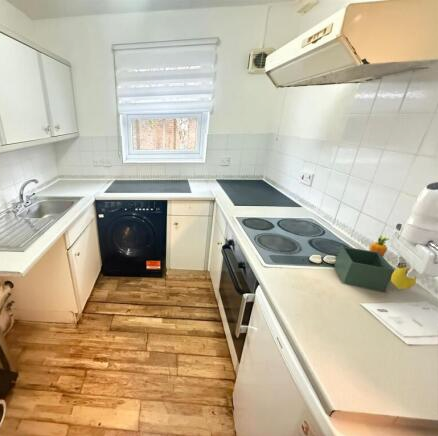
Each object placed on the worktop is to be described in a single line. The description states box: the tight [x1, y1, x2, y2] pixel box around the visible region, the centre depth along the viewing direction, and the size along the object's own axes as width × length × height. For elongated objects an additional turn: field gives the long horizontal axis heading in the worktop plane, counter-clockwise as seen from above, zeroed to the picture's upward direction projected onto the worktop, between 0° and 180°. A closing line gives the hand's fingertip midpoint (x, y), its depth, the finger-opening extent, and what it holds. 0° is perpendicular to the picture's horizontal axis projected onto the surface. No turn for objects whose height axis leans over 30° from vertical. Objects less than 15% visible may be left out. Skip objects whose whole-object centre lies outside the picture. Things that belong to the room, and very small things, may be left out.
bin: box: [333, 246, 396, 293], centre depth 94 cm, size 13×14×10 cm
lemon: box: [390, 267, 417, 290], centre depth 79 cm, size 6×6×8 cm
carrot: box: [368, 234, 390, 257], centre depth 100 cm, size 5×5×15 cm
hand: (404, 272), depth 78 cm, fingers closed on lemon, 4 cm apart
